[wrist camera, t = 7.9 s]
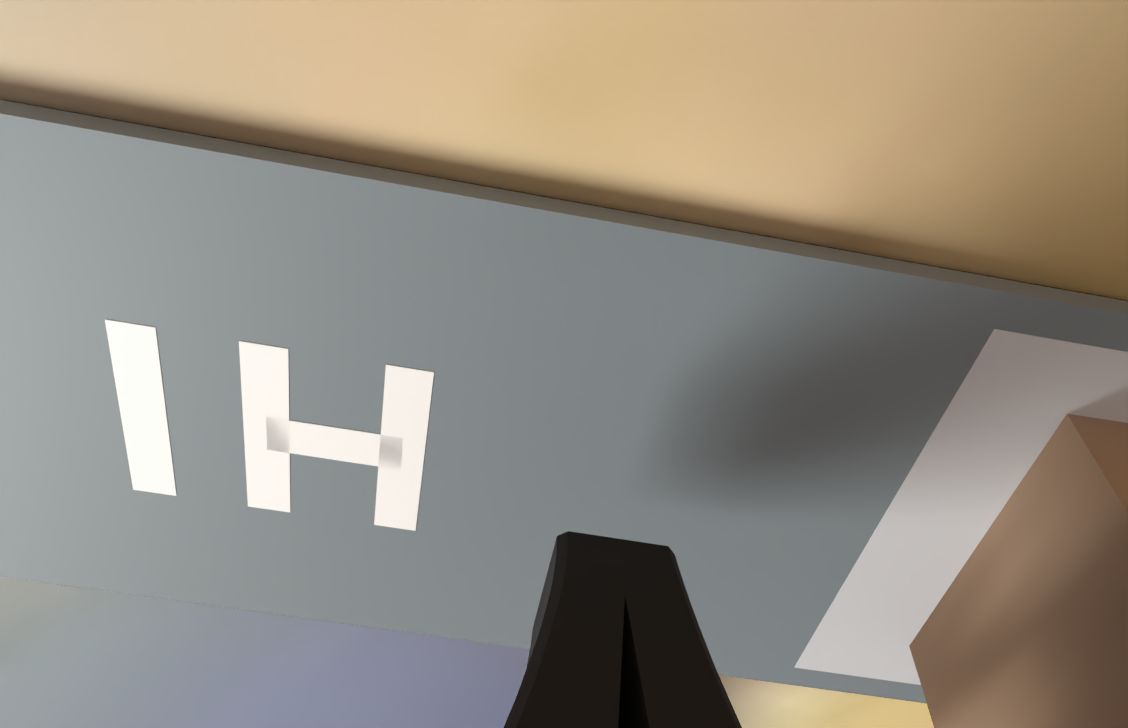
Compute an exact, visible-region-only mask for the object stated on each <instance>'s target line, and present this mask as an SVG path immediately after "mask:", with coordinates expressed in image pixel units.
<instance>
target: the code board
mask: <svg viewBox="0 0 1128 728" xmlns="http://www.w3.org/2000/svg"><path fill="white" fill-rule="evenodd" d="M1066 414H1072V415H1079V416H1086V417H1092V418H1099V419H1105V420H1112V421H1119V422H1125V423H1128V301H1123V300H1118V299H1112V298H1107V297H1101V296H1096V295H1090V294H1084V293H1079V292H1073V291H1068V290H1062V289H1056V288H1051V287H1045V286H1040V285H1034V284H1028V283H1023V282H1017V281H1012V280H1006V279H1000V278H995V277H989V276H984V275H978V274H973V273H967V272H961V271H956V270H950V269H945V268H939V267H933V266H928V265H922V264H917V263H911V262H905V261H900V260H894V259H889V258H883V257H877V256H872V255H866V254H861V253H855V252H849V251H844V250H838V249H833V248H827V247H822V246H816V245H810V244H805V243H799V242H794V241H788V240H782V239H777V238H771V237H766V236H760V235H754V234H749V233H743V232H738V231H732V230H726V229H721V228H715V227H710V226H704V225H698V224H693V223H687V222H682V221H676V220H671V219H665V218H659V217H654V216H648V215H643V214H637V213H631V212H626V211H620V210H615V209H609V208H603V207H598V206H592V205H587V204H581V203H575V202H570V201H564V200H559V199H553V198H548V197H542V196H536V195H531V194H525V193H520V192H514V191H508V190H503V189H497V188H492V187H486V186H480V185H475V184H469V183H464V182H458V181H452V180H447V179H441V178H436V177H430V176H424V175H419V174H413V173H408V172H402V171H397V170H391V169H385V168H380V167H374V166H369V165H363V164H357V163H352V162H346V161H341V160H335V159H329V158H324V157H318V156H313V155H307V154H301V153H296V152H290V151H285V150H279V149H274V148H268V147H262V146H257V145H251V144H246V143H240V142H234V141H229V140H223V139H218V138H212V137H206V136H201V135H195V134H190V133H184V132H178V131H173V130H167V129H162V128H156V127H150V126H145V125H139V124H134V123H128V122H123V121H117V120H111V119H106V118H100V117H95V116H89V115H83V114H78V113H72V112H67V111H61V110H55V109H50V108H44V107H39V106H33V105H27V104H22V103H16V102H11V101H5V100H0V577H5V578H12V579H20V580H27V581H34V582H42V583H49V584H56V585H64V586H71V587H78V588H86V589H93V590H100V591H108V592H115V593H122V594H130V595H137V596H144V597H152V598H159V599H166V600H174V601H181V602H188V603H196V604H203V605H210V606H218V607H225V608H232V609H240V610H247V611H254V612H262V613H269V614H276V615H284V616H291V617H298V618H306V619H313V620H320V621H327V622H335V623H342V624H349V625H357V626H364V627H371V628H379V629H386V630H393V631H401V632H408V633H415V634H423V635H430V636H437V637H445V638H452V639H459V640H467V641H474V642H481V643H489V644H496V645H503V646H511V647H518V648H525V649H530V646H531V638H532V630H533V625H534V621H535V617H536V614H537V610H538V606H539V602H540V598H541V595H542V591H543V587H544V583H545V579H546V576H547V572H548V568H549V564H550V560H551V557H552V553H553V549H554V545H555V541H556V538H557V536H558V535H560V534H563V533H565V532H567V531H571V532H578V533H584V534H591V535H598V536H604V537H611V538H618V539H624V540H631V541H637V542H644V543H651V544H657V545H664V546H669V548H670V549H671V550H672V551H673V553H674V554H675V557H676V560H677V563H678V567H679V570H680V573H681V576H682V579H683V582H684V585H685V588H686V591H687V594H688V597H689V600H690V602H691V605H692V608H693V611H694V613H695V616H696V619H697V622H698V624H699V627H700V630H701V632H702V635H703V637H704V640H705V642H706V645H707V648H708V650H709V653H710V655H711V658H712V660H713V663H714V665H715V668H716V670H717V672H718V675H723V676H730V677H738V678H745V679H752V680H760V681H767V682H774V683H782V684H789V685H796V686H804V687H811V688H818V689H826V690H833V691H840V692H848V693H855V694H862V695H870V696H877V697H884V698H892V699H899V700H906V701H914V702H921V703H927V702H926V699H925V696H924V692H923V689H922V686H921V683H920V679H919V676H918V673H917V670H916V667H915V663H914V660H913V657H912V654H911V650H910V647H909V646H910V644H911V643H912V641H913V640H914V638H915V637H916V635H917V634H918V632H919V631H920V629H921V628H922V626H923V625H924V623H925V622H926V620H927V619H928V618H929V616H930V615H931V613H932V612H933V610H934V609H935V607H936V606H937V604H938V603H939V601H940V600H941V598H942V597H943V595H944V594H945V593H946V591H947V590H948V588H949V587H950V585H951V584H952V582H953V581H954V579H955V578H956V576H957V575H958V573H959V572H960V570H961V569H962V567H963V566H964V565H965V563H966V562H967V560H968V559H969V557H970V556H971V554H972V553H973V551H974V550H975V548H976V547H977V545H978V544H979V542H980V541H981V540H982V538H983V537H984V535H985V534H986V532H987V531H988V529H989V528H990V526H991V525H992V523H993V522H994V520H995V519H996V517H997V516H998V514H999V513H1000V512H1001V510H1002V509H1003V507H1004V506H1005V504H1006V503H1007V501H1008V500H1009V498H1010V497H1011V495H1012V494H1013V492H1014V491H1015V489H1016V488H1017V487H1018V485H1019V484H1020V482H1021V481H1022V479H1023V478H1024V476H1025V475H1026V473H1027V472H1028V470H1029V469H1030V467H1031V466H1032V464H1033V463H1034V461H1035V460H1036V459H1037V457H1038V456H1039V454H1040V453H1041V451H1042V450H1043V448H1044V447H1045V445H1046V444H1047V442H1048V441H1049V439H1050V438H1051V436H1052V435H1053V434H1054V432H1055V431H1056V429H1057V428H1058V426H1059V425H1060V423H1061V422H1062V420H1063V419H1064V417H1065V416H1066Z"/></svg>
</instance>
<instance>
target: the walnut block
mask: <svg viewBox="0 0 1128 728" xmlns="http://www.w3.org/2000/svg"><path fill="white" fill-rule="evenodd" d="M909 647H910V650H911V654H912V657H913V660H914V663H915V667H916V670H917V673H918V676H919V679H920V683H921V686H922V689H923V692H924V696H925V699H926V702H927V705H928V709H929V712H930V715H931V718H932V721H933V725H934V728H1128V423H1125V422H1119V421H1112V420H1105V419H1099V418H1092V417H1086V416H1079V415H1072V414H1066V416H1065V417H1064V419H1063V420H1062V422H1061V423H1060V425H1059V426H1058V428H1057V429H1056V431H1055V432H1054V434H1053V435H1052V436H1051V438H1050V439H1049V441H1048V442H1047V444H1046V445H1045V447H1044V448H1043V450H1042V451H1041V453H1040V454H1039V456H1038V457H1037V459H1036V460H1035V461H1034V463H1033V464H1032V466H1031V467H1030V469H1029V470H1028V472H1027V473H1026V475H1025V476H1024V478H1023V479H1022V481H1021V482H1020V484H1019V485H1018V487H1017V488H1016V489H1015V491H1014V492H1013V494H1012V495H1011V497H1010V498H1009V500H1008V501H1007V503H1006V504H1005V506H1004V507H1003V509H1002V510H1001V512H1000V513H999V514H998V516H997V517H996V519H995V520H994V522H993V523H992V525H991V526H990V528H989V529H988V531H987V532H986V534H985V535H984V537H983V538H982V540H981V541H980V542H979V544H978V545H977V547H976V548H975V550H974V551H973V553H972V554H971V556H970V557H969V559H968V560H967V562H966V563H965V565H964V566H963V567H962V569H961V570H960V572H959V573H958V575H957V576H956V578H955V579H954V581H953V582H952V584H951V585H950V587H949V588H948V590H947V591H946V593H945V594H944V595H943V597H942V598H941V600H940V601H939V603H938V604H937V606H936V607H935V609H934V610H933V612H932V613H931V615H930V616H929V618H928V619H927V620H926V622H925V623H924V625H923V626H922V628H921V629H920V631H919V632H918V634H917V635H916V637H915V638H914V640H913V641H912V643H911V644H910V646H909Z"/></svg>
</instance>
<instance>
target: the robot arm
mask: <svg viewBox="0 0 1128 728" xmlns="http://www.w3.org/2000/svg"><path fill="white" fill-rule="evenodd" d="M504 728H742V727H741V725H740V723H739V721H738V718H737V716H736V714H735V711H734V709H733V707H732V705H731V702H730V700H729V698H728V696H727V693H726V691H725V689H724V687H723V684H722V682H721V680H720V677H719V675H718V672H717V670H716V668H715V665H714V663H713V660H712V658H711V655H710V653H709V650H708V648H707V645H706V642H705V640H704V637H703V635H702V632H701V630H700V627H699V624H698V622H697V619H696V616H695V613H694V611H693V608H692V605H691V602H690V600H689V597H688V594H687V591H686V588H685V585H684V582H683V579H682V576H681V573H680V570H679V567H678V563H677V560H676V557H675V554H674V553H673V551H672V550H671V549H670V548H669V546H664V545H657V544H651V543H644V542H637V541H631V540H624V539H618V538H611V537H604V536H598V535H591V534H584V533H578V532H571V531H567V532H565V533H563V534H560V535H558V536H557V538H556V541H555V545H554V549H553V553H552V557H551V560H550V564H549V568H548V572H547V576H546V579H545V583H544V587H543V591H542V595H541V598H540V602H539V606H538V610H537V614H536V617H535V621H534V625H533V630H532V638H531V646H530V652H529V658H528V664H527V669H526V672H525V675H524V678H523V681H522V684H521V687H520V689H519V692H518V694H517V697H516V700H515V702H514V705H513V707H512V709H511V712H510V714H509V716H508V719H507V721H506V723H505V726H504Z"/></svg>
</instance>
